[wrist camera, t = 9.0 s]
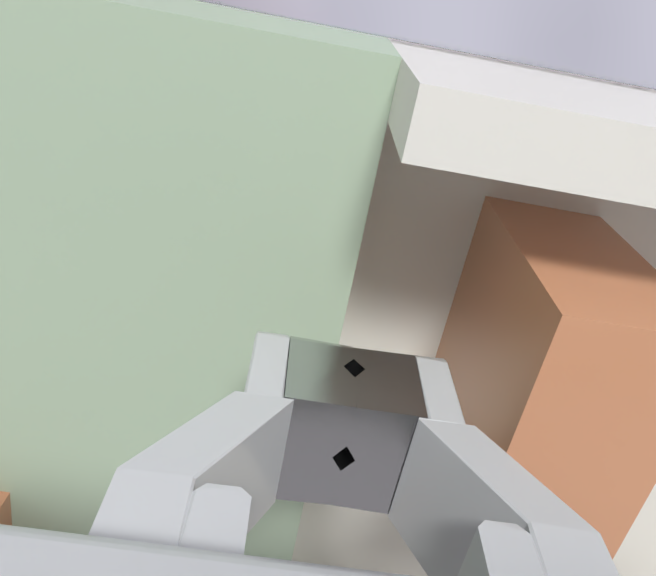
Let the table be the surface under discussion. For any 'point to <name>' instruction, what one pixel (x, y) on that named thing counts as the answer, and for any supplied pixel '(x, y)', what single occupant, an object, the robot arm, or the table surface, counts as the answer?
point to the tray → (460, 222)
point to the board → (167, 225)
